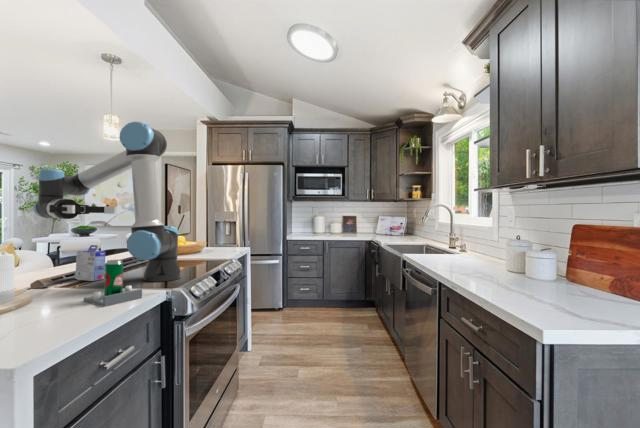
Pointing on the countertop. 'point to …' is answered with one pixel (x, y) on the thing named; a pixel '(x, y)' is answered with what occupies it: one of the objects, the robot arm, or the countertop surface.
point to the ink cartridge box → (90, 264)
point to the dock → (115, 297)
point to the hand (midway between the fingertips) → (95, 209)
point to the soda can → (113, 277)
